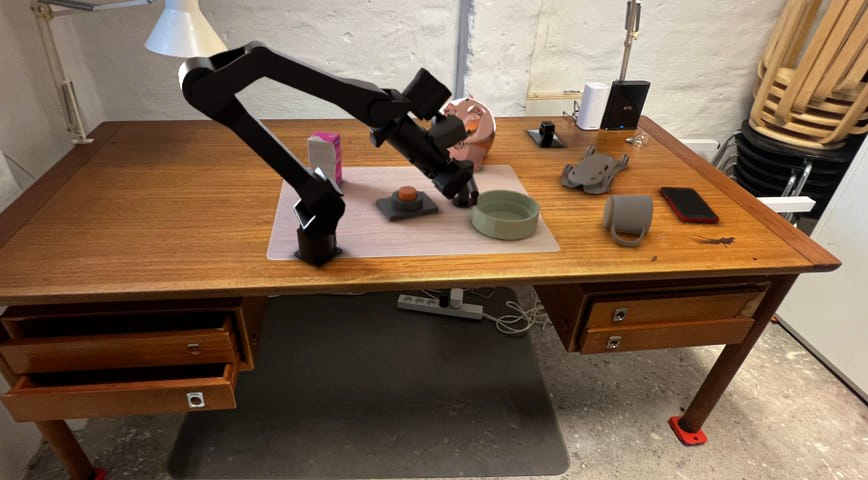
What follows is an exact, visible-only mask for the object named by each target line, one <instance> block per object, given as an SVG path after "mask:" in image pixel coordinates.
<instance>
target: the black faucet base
mask: <svg viewBox="0 0 868 480" xmlns="http://www.w3.org/2000/svg"><path fill="white" fill-rule="evenodd" d="M470 199H471V195H470V192H469V189H468V186H467V184H466V185H465V186H464V187H463V188H462V189H461V190H460V192H459V193H458V194H457V195H456V196H455V197H454V198H453V199H451V204H452V205H453V206H454V207H456V208H459V209H470V208H472V206H471V205H470Z"/></svg>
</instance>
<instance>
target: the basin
mask: <svg viewBox="0 0 868 480" xmlns="http://www.w3.org/2000/svg"><path fill="white" fill-rule="evenodd" d="M540 211H541V207H540V205H539V202H537V201H536V200H535V199H534V197H532V196H529V195H527V194H525V193H522V192H519V191H515V190H509V189H493V190H492V189H491V190H486V191H483V192H479V197H478V202H477V206H472V207H471V216H470V220H471V225H472V226H473V227H474V229H476V230H477V231H478V232H480V233H481V234H483V235H485V236H488V237H491V238H494V239H500V240H510V241H511V240H515V241H516V240H519V239H524V238H527V237H529V236H531V235H533V234H534V232H536V230H537V226H538V221H539V216H540Z"/></svg>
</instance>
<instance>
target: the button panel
mask: <svg viewBox="0 0 868 480" xmlns="http://www.w3.org/2000/svg"><path fill="white" fill-rule="evenodd" d="M391 193H392V194H391V196H388V197H383V198H377V199H376V202H375V203H376V206H377V207H378V208H379V209H380V211H381V212H382V214H383V215H384V216H385V217H386V219H387V221H389V222H395V221H400V220H406V219H410V218H415V217H421V216H425V215H432V214H436V213H439V206H438V205H437V204H436V203H435V201H433V200H432V199H431V198H430V196H428V195H427V193H425V192H424V190H417V189H416V198H415V199H414V200H409V201H406V200H401V199H399V189H397V190H395V191H393V192H391Z"/></svg>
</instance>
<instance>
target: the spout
mask: <svg viewBox="0 0 868 480" xmlns="http://www.w3.org/2000/svg"><path fill="white" fill-rule="evenodd" d="M461 162H462V163H463V164H464V165H465V166H467V167H468V168H469V169H470V170H471V171H472V172H473V173H474V171H473V170H474V162H472V161H470V160H461ZM467 186H468V189H469V192H470V198H471V199H470V205H471V206H477V202H478V197H479V194H480V192H479V187H478V186H477V182H476V180H475V177H474V176H473V177H472V178H471V179H470V181H469V182H468V183H467Z"/></svg>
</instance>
